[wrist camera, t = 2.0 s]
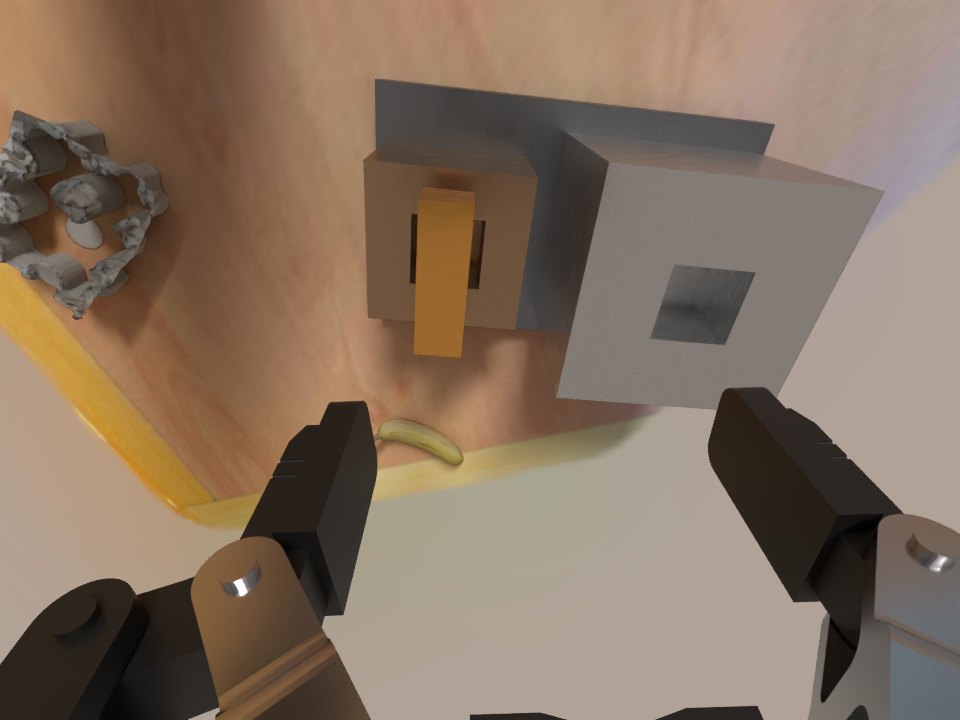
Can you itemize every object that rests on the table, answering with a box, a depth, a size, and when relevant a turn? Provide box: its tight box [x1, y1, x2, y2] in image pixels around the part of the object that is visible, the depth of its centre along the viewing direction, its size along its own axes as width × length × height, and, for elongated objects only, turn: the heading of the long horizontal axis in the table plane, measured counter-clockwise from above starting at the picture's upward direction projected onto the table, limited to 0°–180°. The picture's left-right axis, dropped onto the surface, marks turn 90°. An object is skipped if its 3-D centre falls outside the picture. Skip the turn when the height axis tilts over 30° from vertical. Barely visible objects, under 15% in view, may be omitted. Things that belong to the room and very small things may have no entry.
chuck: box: [364, 79, 885, 410], centre depth 26 cm, size 22×14×12 cm, turn 84°
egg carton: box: [0, 110, 170, 319], centre depth 28 cm, size 11×8×4 cm
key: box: [414, 187, 475, 358], centre depth 24 cm, size 7×2×8 cm, turn 174°
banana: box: [373, 420, 463, 465], centre depth 38 cm, size 8×2×4 cm, turn 64°
